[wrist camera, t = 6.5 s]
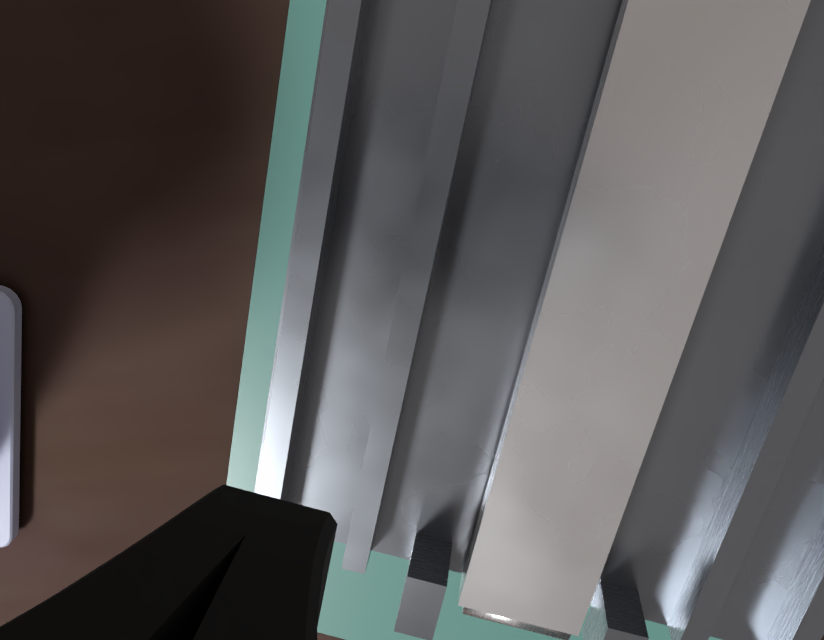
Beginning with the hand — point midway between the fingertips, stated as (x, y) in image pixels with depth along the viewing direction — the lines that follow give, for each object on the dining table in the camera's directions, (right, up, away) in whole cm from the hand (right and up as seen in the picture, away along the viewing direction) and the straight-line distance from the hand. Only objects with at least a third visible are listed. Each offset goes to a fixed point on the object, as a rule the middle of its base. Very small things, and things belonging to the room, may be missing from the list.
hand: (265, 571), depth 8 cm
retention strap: (+5, +3, +5) cm, 8 cm away
